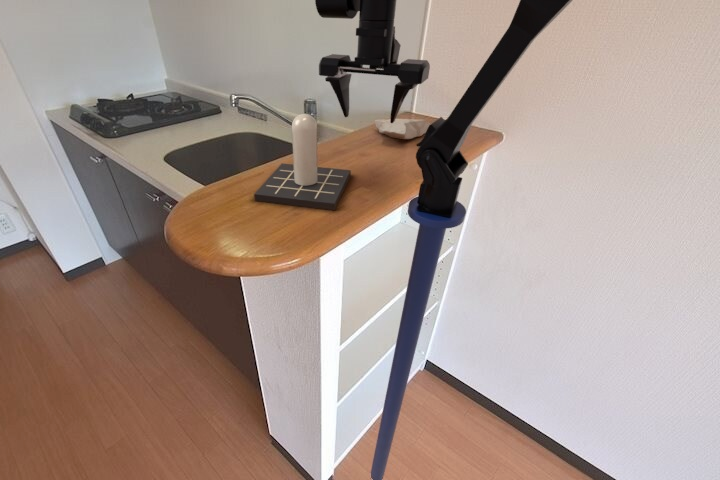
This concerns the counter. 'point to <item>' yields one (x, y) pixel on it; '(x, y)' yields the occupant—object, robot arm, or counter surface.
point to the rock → (402, 128)
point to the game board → (304, 188)
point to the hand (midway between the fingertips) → (368, 119)
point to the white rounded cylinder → (305, 150)
